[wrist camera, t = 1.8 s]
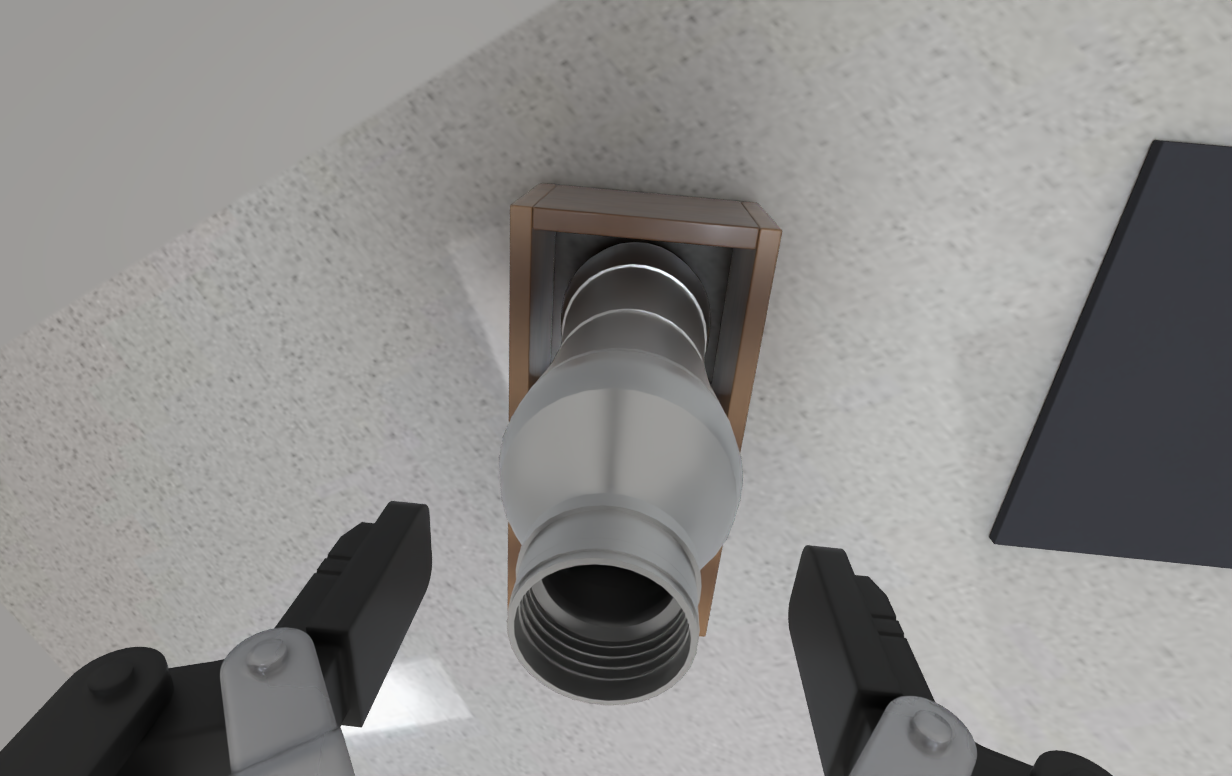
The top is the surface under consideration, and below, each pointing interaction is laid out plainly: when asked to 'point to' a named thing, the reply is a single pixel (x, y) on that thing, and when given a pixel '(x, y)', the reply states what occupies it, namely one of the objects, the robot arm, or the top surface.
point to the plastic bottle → (619, 483)
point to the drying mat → (1144, 385)
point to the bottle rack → (647, 221)
